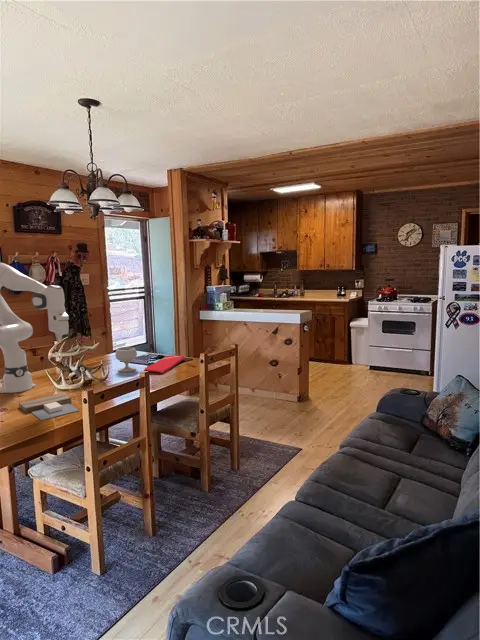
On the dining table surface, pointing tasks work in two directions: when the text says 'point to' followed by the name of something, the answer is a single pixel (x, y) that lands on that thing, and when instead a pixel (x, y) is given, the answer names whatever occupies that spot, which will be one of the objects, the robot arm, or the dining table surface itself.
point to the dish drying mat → (164, 364)
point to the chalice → (126, 357)
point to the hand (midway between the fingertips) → (59, 341)
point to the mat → (44, 414)
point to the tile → (53, 407)
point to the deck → (43, 402)
